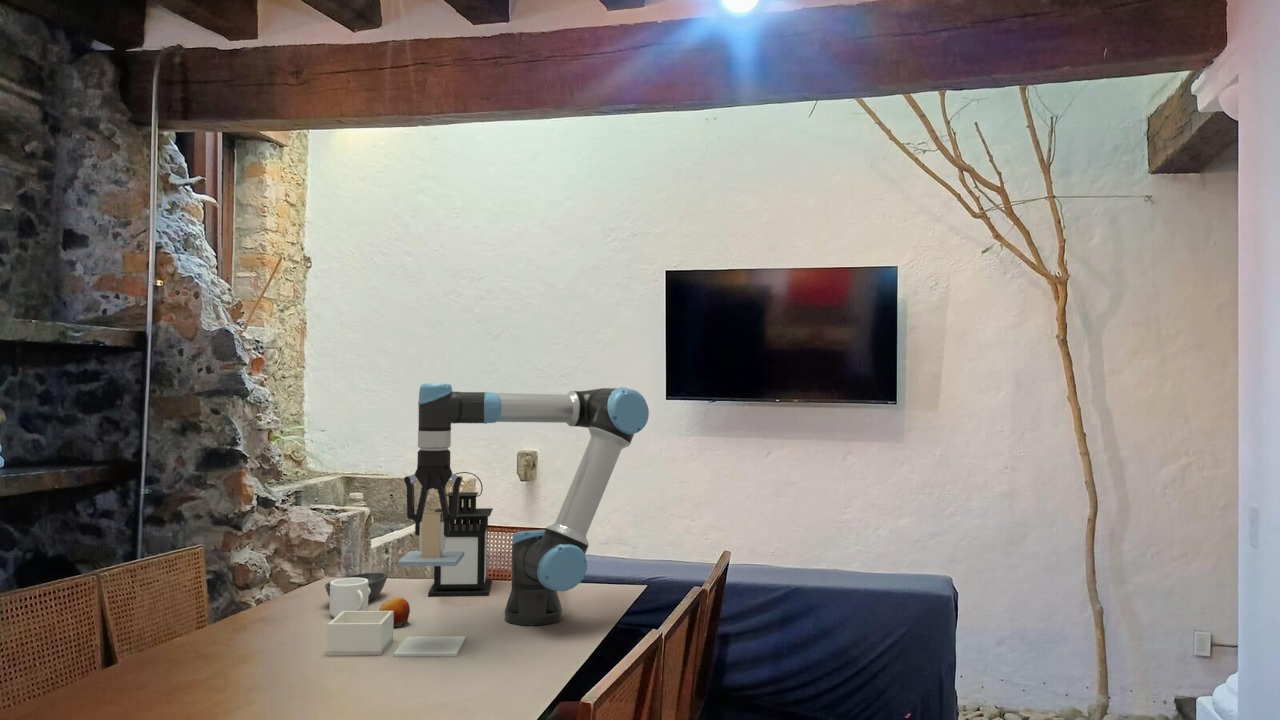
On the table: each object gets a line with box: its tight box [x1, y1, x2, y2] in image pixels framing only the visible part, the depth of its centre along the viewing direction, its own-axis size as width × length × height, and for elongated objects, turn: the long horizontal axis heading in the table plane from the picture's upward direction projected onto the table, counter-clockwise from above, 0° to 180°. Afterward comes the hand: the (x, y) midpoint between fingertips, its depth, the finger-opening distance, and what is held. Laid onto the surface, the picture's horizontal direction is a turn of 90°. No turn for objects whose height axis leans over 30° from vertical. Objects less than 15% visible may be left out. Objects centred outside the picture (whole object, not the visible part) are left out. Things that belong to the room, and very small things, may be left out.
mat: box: [393, 635, 467, 658], centre depth 204 cm, size 14×14×1 cm
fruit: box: [378, 596, 411, 628], centre depth 224 cm, size 8×8×8 cm
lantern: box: [427, 471, 494, 598], centre depth 265 cm, size 17×17×35 cm
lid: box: [397, 511, 464, 567], centre depth 205 cm, size 13×13×11 cm
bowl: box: [324, 572, 389, 604], centre depth 248 cm, size 12×22×6 cm, turn 160°
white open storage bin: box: [326, 610, 394, 657], centre depth 204 cm, size 12×12×7 cm
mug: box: [329, 577, 371, 619], centre depth 232 cm, size 12×10×9 cm
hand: (432, 549), depth 205 cm, fingers closed on lid, 4 cm apart
